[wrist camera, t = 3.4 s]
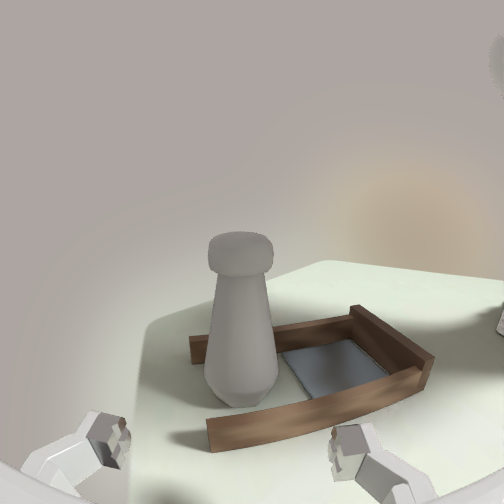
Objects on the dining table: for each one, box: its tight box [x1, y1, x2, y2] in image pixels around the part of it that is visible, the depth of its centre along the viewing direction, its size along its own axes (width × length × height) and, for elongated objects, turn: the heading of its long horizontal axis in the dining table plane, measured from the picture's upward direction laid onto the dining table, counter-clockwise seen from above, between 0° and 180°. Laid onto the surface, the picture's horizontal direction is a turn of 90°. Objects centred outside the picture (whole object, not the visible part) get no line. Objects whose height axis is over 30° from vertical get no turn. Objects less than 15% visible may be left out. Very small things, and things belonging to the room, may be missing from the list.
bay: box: [189, 305, 435, 453], centre depth 24 cm, size 18×12×4 cm, turn 106°
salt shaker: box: [204, 232, 279, 408], centre depth 21 cm, size 6×6×13 cm
